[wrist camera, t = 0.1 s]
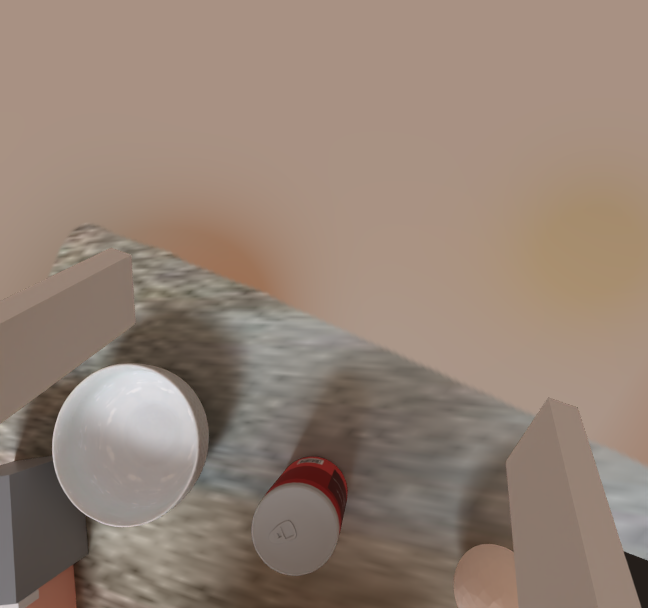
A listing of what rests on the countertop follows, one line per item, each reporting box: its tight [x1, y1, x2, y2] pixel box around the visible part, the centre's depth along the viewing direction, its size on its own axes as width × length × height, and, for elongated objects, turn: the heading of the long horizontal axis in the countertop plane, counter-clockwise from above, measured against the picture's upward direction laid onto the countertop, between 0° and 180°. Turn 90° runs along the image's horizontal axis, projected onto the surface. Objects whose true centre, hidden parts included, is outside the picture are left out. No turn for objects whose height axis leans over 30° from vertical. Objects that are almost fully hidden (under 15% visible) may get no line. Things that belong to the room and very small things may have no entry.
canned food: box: [251, 457, 348, 576], centre depth 42 cm, size 8×8×11 cm
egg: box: [454, 544, 519, 608], centre depth 38 cm, size 8×8×11 cm
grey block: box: [0, 456, 88, 608], centre depth 46 cm, size 13×10×10 cm
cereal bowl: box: [52, 363, 209, 527], centre depth 47 cm, size 17×17×7 cm
